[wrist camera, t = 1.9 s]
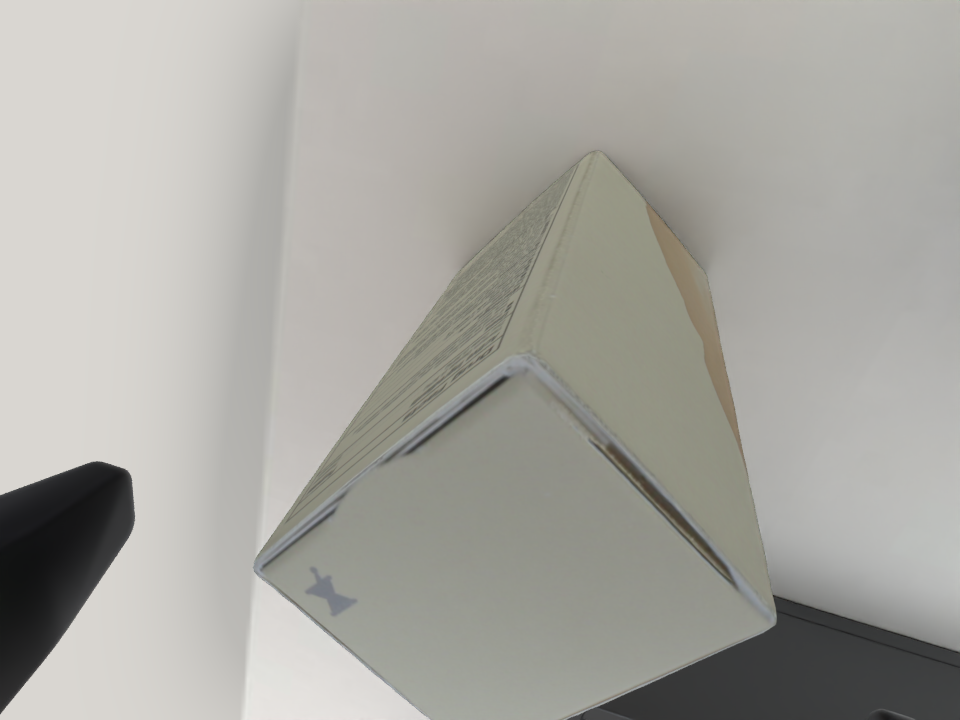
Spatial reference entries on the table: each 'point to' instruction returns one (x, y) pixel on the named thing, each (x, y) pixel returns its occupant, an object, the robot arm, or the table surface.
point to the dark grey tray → (803, 677)
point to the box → (540, 478)
